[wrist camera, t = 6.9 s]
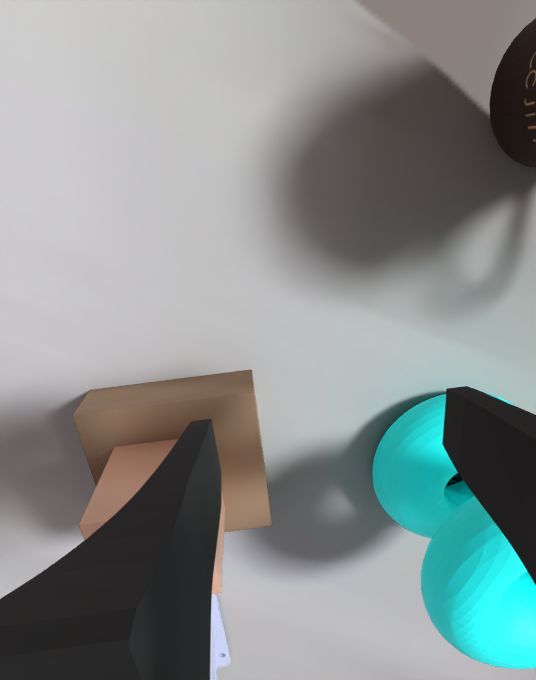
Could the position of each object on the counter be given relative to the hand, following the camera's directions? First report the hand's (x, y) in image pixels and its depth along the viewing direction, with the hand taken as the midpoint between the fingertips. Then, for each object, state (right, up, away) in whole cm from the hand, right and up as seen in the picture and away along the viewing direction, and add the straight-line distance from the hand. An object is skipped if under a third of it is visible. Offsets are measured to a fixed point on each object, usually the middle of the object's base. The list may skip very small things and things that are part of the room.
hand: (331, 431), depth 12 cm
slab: (-7, -3, +12) cm, 14 cm away
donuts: (+9, -4, +13) cm, 17 cm away
